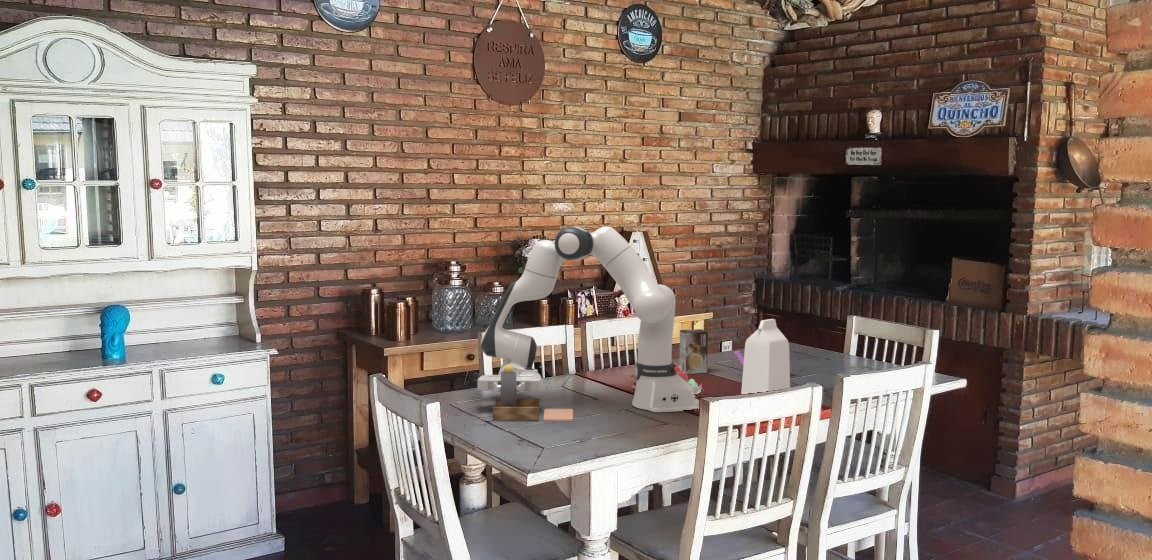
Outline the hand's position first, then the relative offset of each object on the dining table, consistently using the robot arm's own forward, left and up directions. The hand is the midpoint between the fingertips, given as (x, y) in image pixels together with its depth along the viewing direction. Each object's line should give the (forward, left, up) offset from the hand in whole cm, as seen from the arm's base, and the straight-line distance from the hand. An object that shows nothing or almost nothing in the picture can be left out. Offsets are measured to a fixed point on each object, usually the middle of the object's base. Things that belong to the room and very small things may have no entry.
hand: (508, 388), depth 277 cm
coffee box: (-67, -64, -9) cm, 93 cm away
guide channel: (-3, -1, -9) cm, 9 cm away
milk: (-87, -29, -9) cm, 92 cm away
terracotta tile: (-16, -1, -9) cm, 18 cm away
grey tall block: (0, -1, -7) cm, 7 cm away
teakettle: (-92, -59, -9) cm, 109 cm away
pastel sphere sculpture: (-54, -36, -9) cm, 66 cm away
